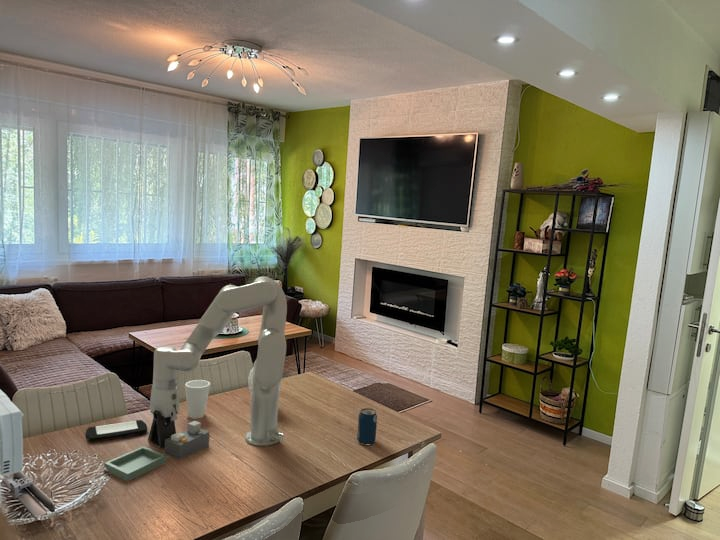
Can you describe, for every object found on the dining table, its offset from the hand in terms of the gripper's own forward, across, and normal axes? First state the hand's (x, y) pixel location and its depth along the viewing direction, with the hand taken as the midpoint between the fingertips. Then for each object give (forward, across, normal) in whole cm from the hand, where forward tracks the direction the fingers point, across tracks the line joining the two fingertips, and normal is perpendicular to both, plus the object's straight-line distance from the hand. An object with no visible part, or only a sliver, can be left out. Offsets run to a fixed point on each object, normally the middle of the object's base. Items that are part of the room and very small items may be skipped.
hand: (163, 432), depth 171 cm
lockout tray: (+3, -7, +16) cm, 18 cm away
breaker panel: (+3, -11, -1) cm, 12 cm away
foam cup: (+3, +8, -23) cm, 25 cm away
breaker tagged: (0, -10, +2) cm, 11 cm away
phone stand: (+3, 0, 0) cm, 3 cm away
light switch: (+4, +19, +4) cm, 20 cm away
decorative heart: (+3, -7, -46) cm, 47 cm away
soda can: (+4, -58, -44) cm, 73 cm away
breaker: (-1, -10, -5) cm, 11 cm away
